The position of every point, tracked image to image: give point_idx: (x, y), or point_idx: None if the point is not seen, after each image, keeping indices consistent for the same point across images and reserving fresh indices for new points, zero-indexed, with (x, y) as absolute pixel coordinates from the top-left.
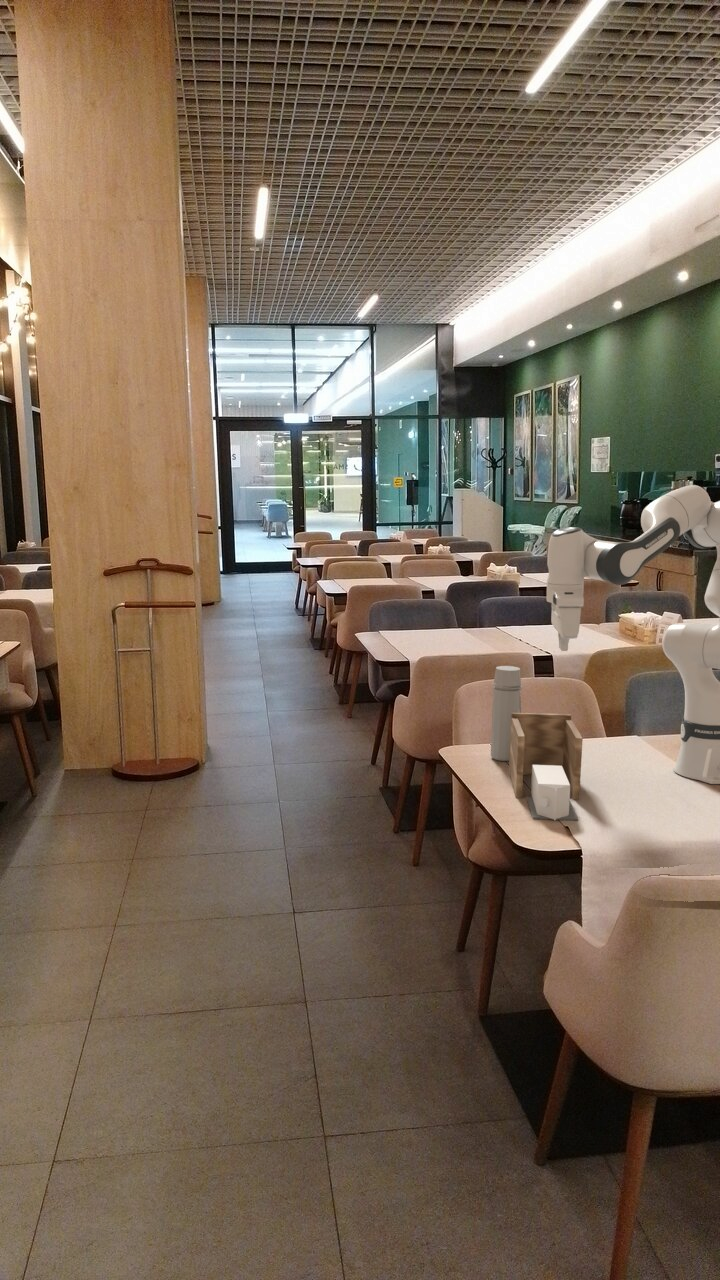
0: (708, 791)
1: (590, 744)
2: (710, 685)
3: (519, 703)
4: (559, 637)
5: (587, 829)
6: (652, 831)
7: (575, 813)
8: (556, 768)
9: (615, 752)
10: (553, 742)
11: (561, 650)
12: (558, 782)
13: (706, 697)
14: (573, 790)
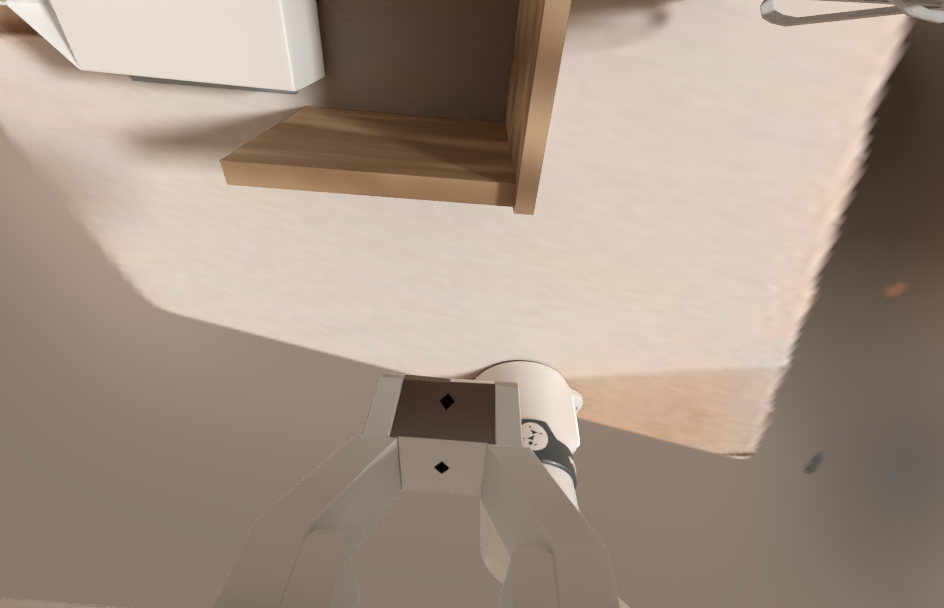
0: (417, 374)
1: (767, 262)
2: (504, 579)
3: (884, 9)
4: (523, 506)
5: (82, 90)
6: (150, 231)
7: (172, 82)
8: (252, 62)
9: (682, 298)
10: (515, 113)
11: (385, 374)
12: (86, 31)
13: (486, 542)
14: (296, 112)
